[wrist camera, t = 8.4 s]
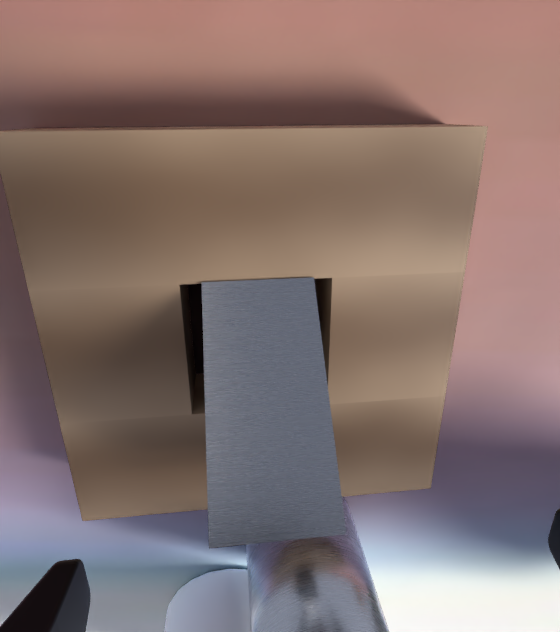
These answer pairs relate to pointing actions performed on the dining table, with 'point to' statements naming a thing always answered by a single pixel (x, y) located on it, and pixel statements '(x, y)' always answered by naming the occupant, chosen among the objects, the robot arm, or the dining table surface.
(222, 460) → the square bit
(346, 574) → the clear glass jar
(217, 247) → the bore block
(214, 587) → the spray bottle
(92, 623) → the dining table surface
